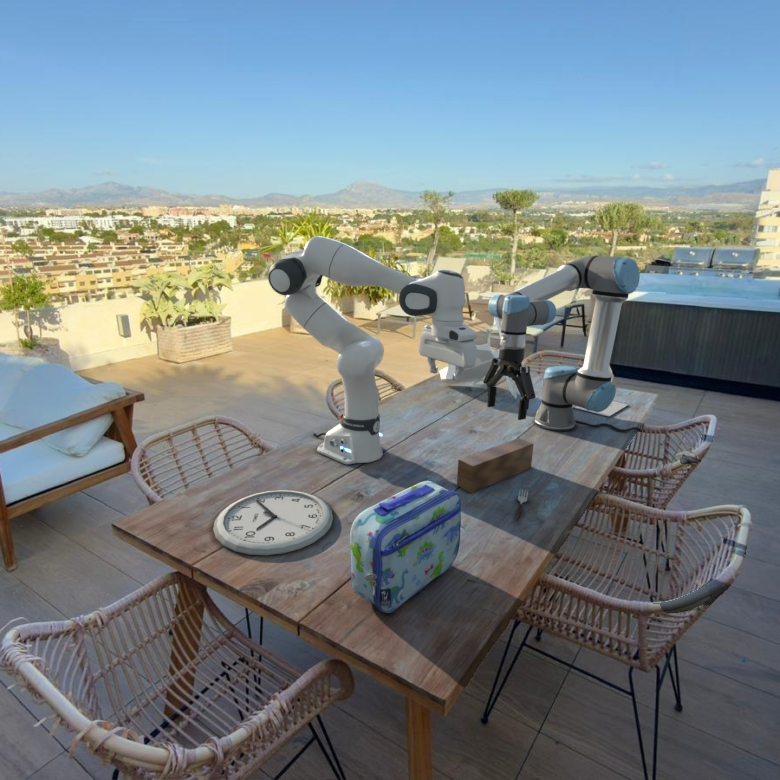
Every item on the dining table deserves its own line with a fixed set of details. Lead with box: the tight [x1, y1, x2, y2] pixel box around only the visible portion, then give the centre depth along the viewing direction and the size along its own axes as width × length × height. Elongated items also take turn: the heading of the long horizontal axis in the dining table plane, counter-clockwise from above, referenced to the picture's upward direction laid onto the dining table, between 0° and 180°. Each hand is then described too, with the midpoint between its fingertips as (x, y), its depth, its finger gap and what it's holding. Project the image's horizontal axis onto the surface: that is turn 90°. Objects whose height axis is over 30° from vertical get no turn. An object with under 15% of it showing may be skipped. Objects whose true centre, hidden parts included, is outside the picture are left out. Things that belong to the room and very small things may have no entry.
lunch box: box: [349, 480, 462, 614], centre depth 109 cm, size 26×11×21 cm, turn 134°
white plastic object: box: [438, 316, 517, 400], centre depth 245 cm, size 37×45×31 cm
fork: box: [516, 487, 529, 521], centre depth 143 cm, size 3×16×2 cm, turn 160°
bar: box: [456, 437, 535, 494], centre depth 160 cm, size 28×6×8 cm, turn 128°
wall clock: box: [212, 489, 334, 556], centre depth 134 cm, size 30×2×30 cm
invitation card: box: [573, 400, 629, 418], centre depth 226 cm, size 21×1×15 cm
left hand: (444, 376), depth 151 cm, fingers open, 8 cm apart
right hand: (505, 412), depth 165 cm, fingers open, 13 cm apart
